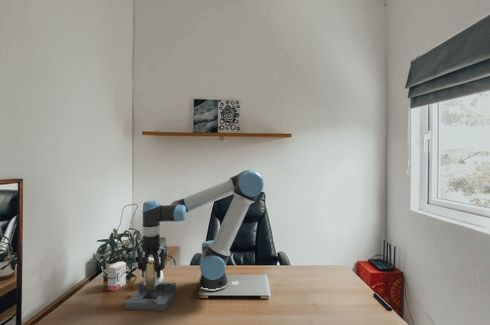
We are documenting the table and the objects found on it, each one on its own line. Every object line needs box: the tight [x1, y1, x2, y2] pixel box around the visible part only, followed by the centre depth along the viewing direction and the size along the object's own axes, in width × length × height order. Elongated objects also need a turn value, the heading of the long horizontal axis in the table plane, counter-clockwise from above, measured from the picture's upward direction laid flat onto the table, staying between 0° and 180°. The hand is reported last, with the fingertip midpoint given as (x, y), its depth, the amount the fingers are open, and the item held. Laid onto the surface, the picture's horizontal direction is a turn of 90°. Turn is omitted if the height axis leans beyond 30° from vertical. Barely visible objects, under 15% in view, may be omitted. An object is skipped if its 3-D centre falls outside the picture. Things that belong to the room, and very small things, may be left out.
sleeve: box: [146, 260, 157, 290], centre depth 125 cm, size 5×5×12 cm
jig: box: [124, 280, 177, 312], centre depth 125 cm, size 18×14×7 cm
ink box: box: [107, 261, 127, 292], centre depth 141 cm, size 9×5×12 cm, turn 168°
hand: (151, 284), depth 125 cm, fingers closed on sleeve, 5 cm apart
